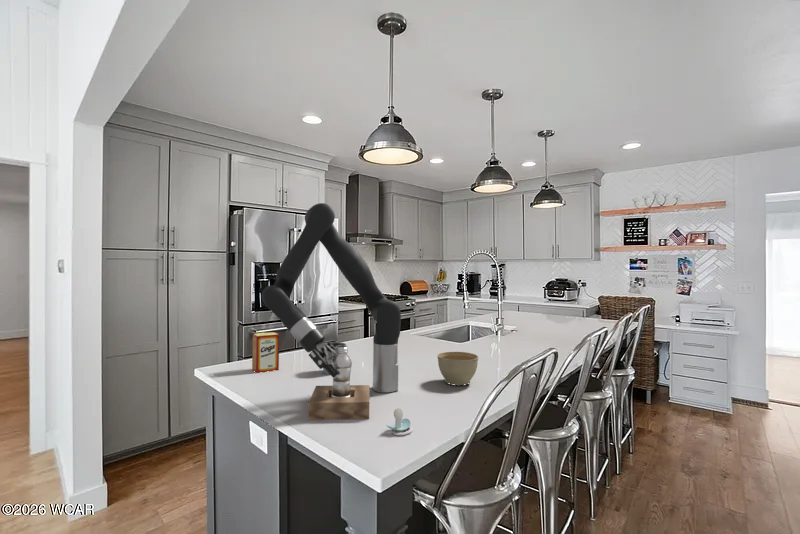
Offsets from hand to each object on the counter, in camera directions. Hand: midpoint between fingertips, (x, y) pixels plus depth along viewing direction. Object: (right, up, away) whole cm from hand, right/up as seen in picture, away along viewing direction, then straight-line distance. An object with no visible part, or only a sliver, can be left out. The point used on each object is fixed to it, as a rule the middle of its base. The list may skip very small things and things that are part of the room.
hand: (340, 371), depth 125 cm
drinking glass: (-10, -12, +44) cm, 47 cm away
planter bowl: (+42, -13, +30) cm, 53 cm away
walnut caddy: (0, -12, 0) cm, 12 cm away
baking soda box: (-40, -12, +46) cm, 62 cm away
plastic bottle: (0, -12, 0) cm, 12 cm away
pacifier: (+19, -12, -17) cm, 28 cm away
